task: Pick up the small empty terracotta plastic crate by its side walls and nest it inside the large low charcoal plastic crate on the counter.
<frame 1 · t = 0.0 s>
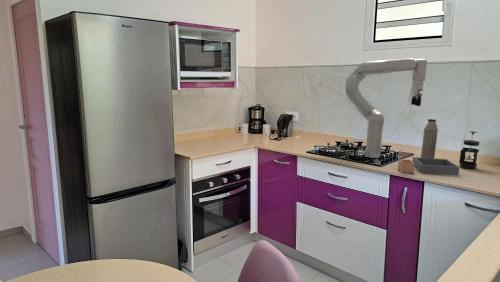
hand: (415, 105, 231), 37 cm above the worktop, tool pointing down, fingers open, 9 cm apart
thermos bottle: (427, 161, 236), on the worktop
charcoal crate: (433, 169, 213), on the worktop
french press: (467, 168, 221), on the worktop
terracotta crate: (405, 171, 209), on the worktop
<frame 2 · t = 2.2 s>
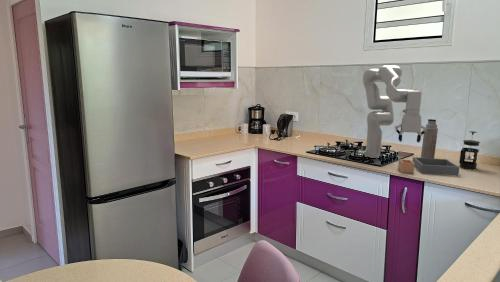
hand: (409, 141, 205), 18 cm above the worktop, tool pointing down, fingers open, 9 cm apart
nothing on the worktop moved.
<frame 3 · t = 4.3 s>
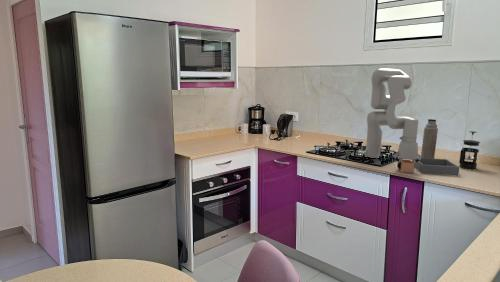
hand: (405, 169, 208), 1 cm above the worktop, tool pointing down, fingers closed on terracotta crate, 6 cm apart
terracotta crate: (405, 171, 209), on the worktop, touching gripper
everything else where it was.
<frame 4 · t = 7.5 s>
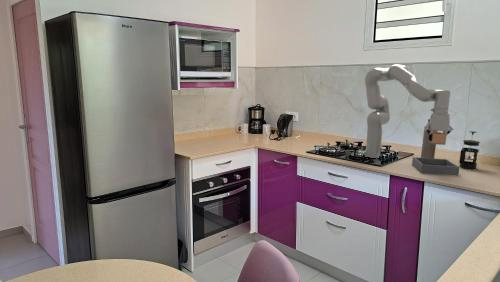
hand: (436, 141, 210), 18 cm above the worktop, tool pointing down, fingers closed on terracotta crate, 6 cm apart
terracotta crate: (436, 143, 210), point 17 cm above the worktop, touching gripper
everything else where it was.
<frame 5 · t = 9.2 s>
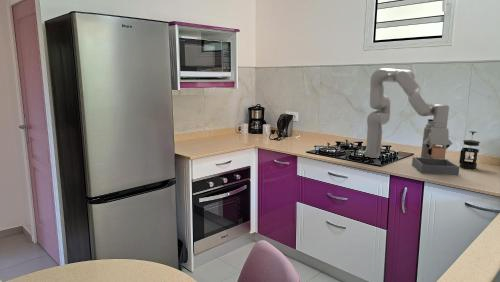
hand: (436, 154, 211), 9 cm above the worktop, tool pointing down, fingers closed on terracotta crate, 6 cm apart
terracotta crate: (436, 156, 212), point 8 cm above the worktop, touching gripper
everything else where it was.
when the fingers open (4 cm above the worktop, at t = 10.8 s): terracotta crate drops 1 cm, resting on charcoal crate.
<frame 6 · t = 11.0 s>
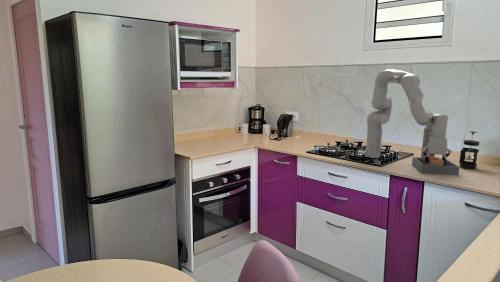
hand: (434, 163, 213), 4 cm above the worktop, tool pointing down, fingers open, 8 cm apart
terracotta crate: (433, 168, 213), point 1 cm above the worktop, touching charcoal crate
everything else where it was.
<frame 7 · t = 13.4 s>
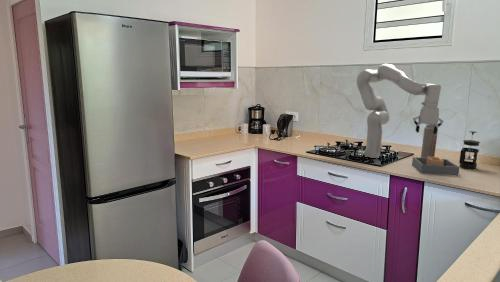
hand: (425, 132, 215), 22 cm above the worktop, tool pointing down, fingers open, 9 cm apart
nothing on the worktop moved.
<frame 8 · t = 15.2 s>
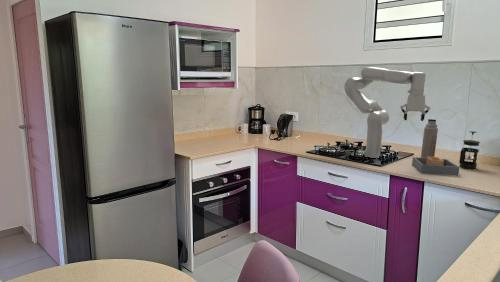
hand: (413, 120, 220), 28 cm above the worktop, tool pointing down, fingers open, 9 cm apart
nothing on the worktop moved.
at the end: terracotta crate inside the target area on the charcoal crate (0.1 cm from its centre), point 1.0 cm above the charcoal crate's base; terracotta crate tilted 0°; the gripper is holding nothing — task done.
